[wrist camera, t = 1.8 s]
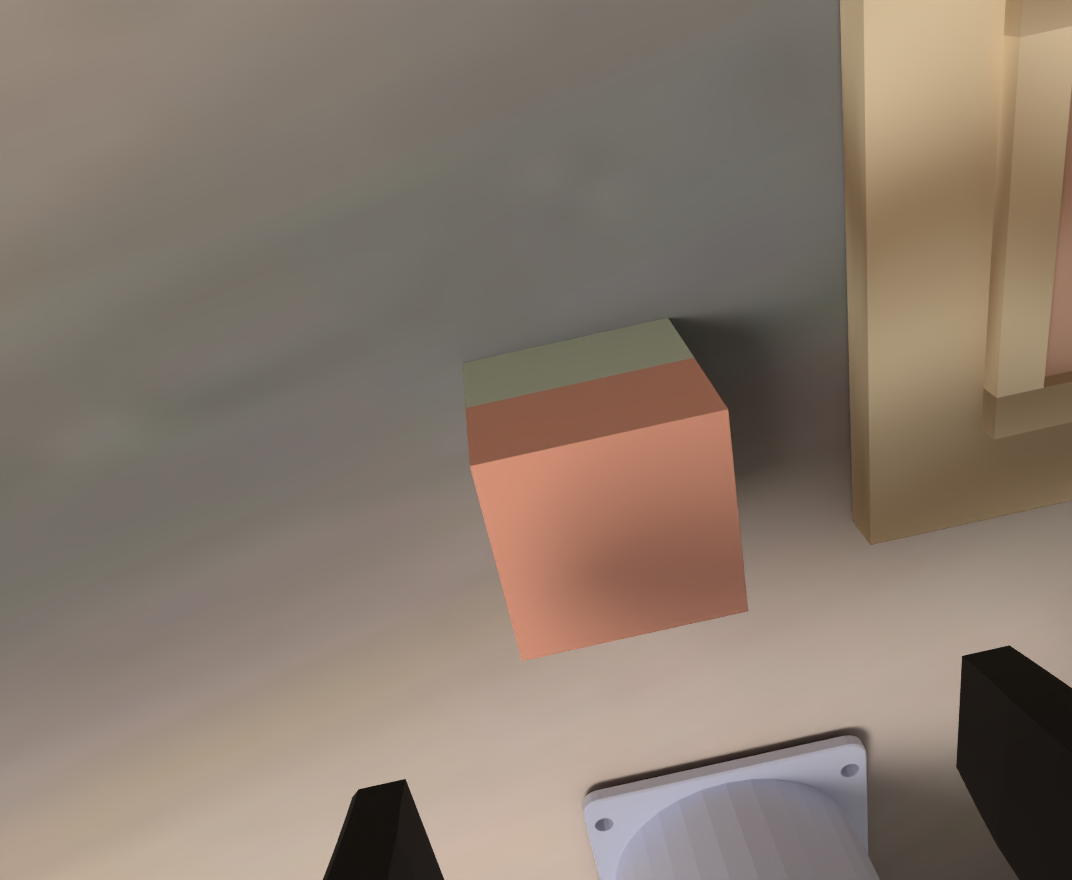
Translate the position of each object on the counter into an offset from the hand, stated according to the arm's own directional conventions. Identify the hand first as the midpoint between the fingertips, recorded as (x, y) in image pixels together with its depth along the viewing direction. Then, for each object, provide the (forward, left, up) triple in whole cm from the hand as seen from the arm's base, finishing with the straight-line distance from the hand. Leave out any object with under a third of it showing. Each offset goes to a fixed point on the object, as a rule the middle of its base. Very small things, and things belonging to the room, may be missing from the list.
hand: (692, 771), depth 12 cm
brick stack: (0, 0, -10) cm, 10 cm away
